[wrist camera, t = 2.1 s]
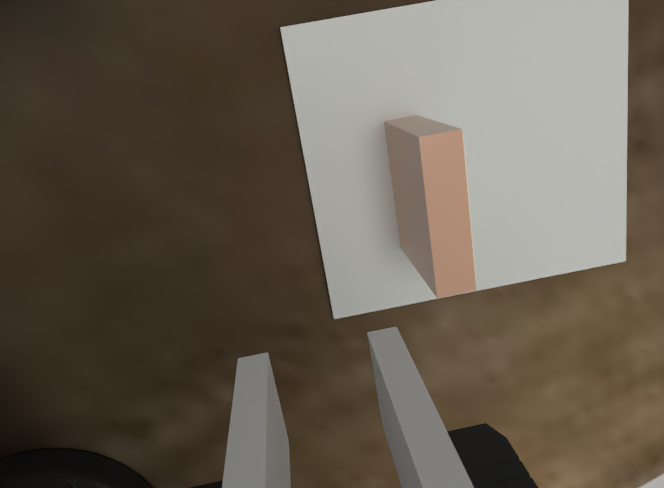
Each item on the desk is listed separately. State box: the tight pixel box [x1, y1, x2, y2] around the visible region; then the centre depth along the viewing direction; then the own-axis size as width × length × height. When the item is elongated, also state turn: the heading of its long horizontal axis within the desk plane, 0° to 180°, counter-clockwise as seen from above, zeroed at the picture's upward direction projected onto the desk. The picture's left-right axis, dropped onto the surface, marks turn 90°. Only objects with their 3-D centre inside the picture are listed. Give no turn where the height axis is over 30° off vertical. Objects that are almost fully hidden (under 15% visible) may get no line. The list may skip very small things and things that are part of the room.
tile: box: [384, 115, 477, 298], centre depth 29 cm, size 2×8×8 cm, turn 10°
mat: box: [280, 0, 628, 319], centre depth 33 cm, size 20×18×1 cm
